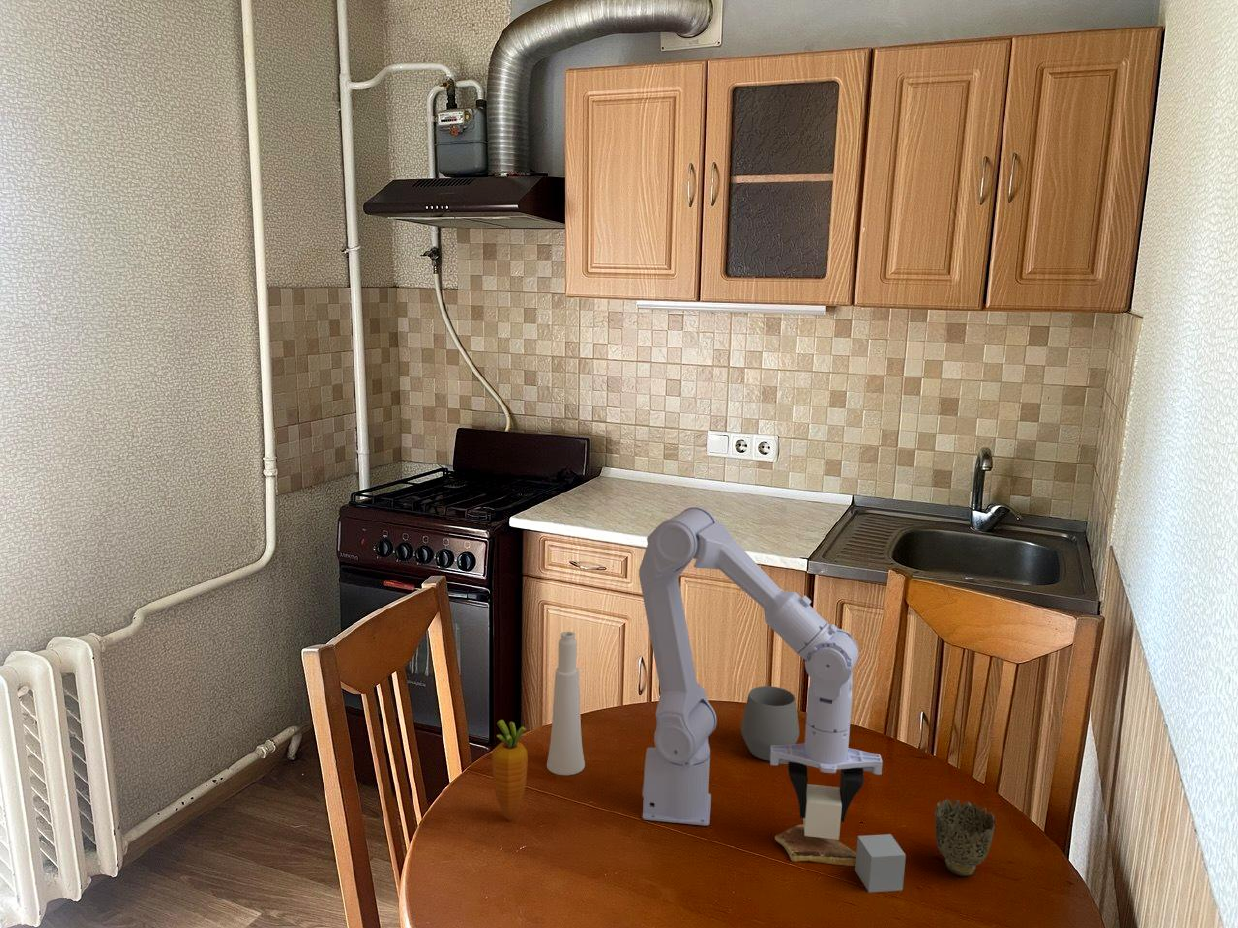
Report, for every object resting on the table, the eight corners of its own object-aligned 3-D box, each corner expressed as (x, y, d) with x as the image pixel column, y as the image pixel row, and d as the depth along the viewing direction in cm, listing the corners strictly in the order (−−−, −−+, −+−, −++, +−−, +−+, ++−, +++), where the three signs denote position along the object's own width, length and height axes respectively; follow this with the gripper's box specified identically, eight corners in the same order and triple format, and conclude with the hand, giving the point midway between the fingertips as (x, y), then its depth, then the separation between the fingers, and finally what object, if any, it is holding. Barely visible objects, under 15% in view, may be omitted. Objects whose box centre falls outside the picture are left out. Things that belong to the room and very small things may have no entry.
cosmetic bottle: (574, 752, 146) (576, 624, 142) (591, 770, 141) (594, 637, 137) (540, 761, 143) (541, 630, 139) (557, 779, 138) (558, 644, 134)
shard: (869, 869, 118) (870, 857, 118) (831, 891, 114) (831, 878, 113) (806, 830, 127) (806, 818, 126) (768, 849, 122) (769, 837, 122)
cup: (802, 768, 143) (806, 709, 141) (743, 766, 143) (747, 708, 141) (791, 739, 152) (795, 684, 150) (736, 737, 152) (739, 682, 150)
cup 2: (983, 894, 113) (990, 837, 112) (923, 874, 117) (929, 818, 115) (994, 864, 119) (1000, 809, 118) (937, 845, 123) (942, 792, 122)
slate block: (868, 892, 113) (871, 856, 112) (854, 870, 117) (857, 835, 117) (902, 890, 114) (905, 854, 113) (887, 868, 118) (890, 833, 117)
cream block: (804, 835, 120) (807, 801, 119) (802, 816, 124) (805, 783, 123) (838, 839, 119) (841, 805, 118) (836, 820, 123) (839, 787, 122)
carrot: (534, 820, 127) (535, 721, 124) (507, 834, 123) (507, 733, 120) (511, 806, 130) (512, 709, 127) (484, 819, 126) (484, 721, 124)
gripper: (773, 731, 116) (768, 827, 118) (889, 741, 114) (880, 838, 117) (771, 707, 123) (766, 798, 125) (880, 716, 121) (872, 808, 123)
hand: (821, 815), depth 121 cm, fingers closed on cream block, 4 cm apart
